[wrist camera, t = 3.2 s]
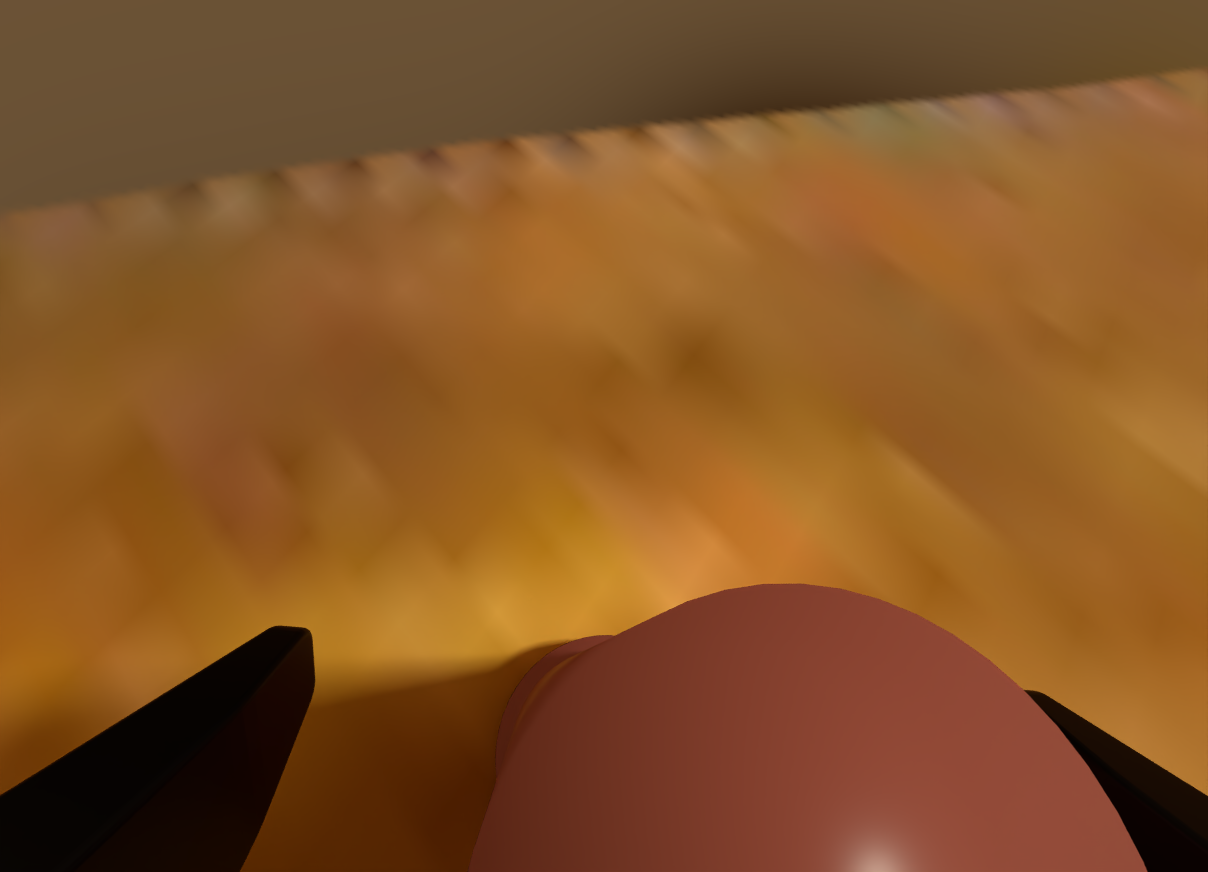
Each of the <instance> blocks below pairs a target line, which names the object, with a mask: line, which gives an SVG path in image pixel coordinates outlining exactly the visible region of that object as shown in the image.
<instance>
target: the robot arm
mask: <svg viewBox="0 0 1208 872" xmlns="http://www.w3.org/2000/svg"><path fill="white" fill-rule="evenodd" d="M314 687H315V668H314V653H313V639H312V634H311V632H310V631H309V630H308V629H306V628H302V627H290V626H274V627H271V628H269V629H267V630H265V631H264V632H262V633H261V634H259V635H257V636H256V637H254V638H253V639H251V640H249V641H248V642H246V643H245V644H243V645H241V646H240V647H238V648H237V649H235V650H233V651H232V652H230V653H229V654H227V655H225V656H224V657H222V658H220V659H219V660H217V661H216V662H214V663H212V664H211V665H209V666H208V667H206V668H204V669H203V670H201V671H200V672H198V673H196V674H195V675H193V676H192V677H190V678H188V679H187V680H185V681H183V682H182V683H180V684H179V685H177V686H175V687H174V688H172V689H171V690H169V691H167V692H166V693H164V694H163V695H161V696H159V697H158V698H156V699H155V700H153V701H151V702H150V703H148V704H146V705H145V706H143V707H142V708H140V709H138V710H137V711H135V712H134V713H132V714H130V715H129V716H127V717H126V718H124V719H122V720H121V721H119V722H118V723H116V724H114V725H113V726H111V727H109V728H108V729H106V730H105V731H103V732H101V733H100V734H98V735H97V736H95V737H93V738H92V739H90V740H89V741H87V742H85V743H84V744H82V745H81V746H79V747H77V748H76V749H74V750H73V751H71V752H69V753H68V754H66V755H64V756H63V757H61V758H60V759H58V760H56V761H55V762H53V763H52V764H50V765H48V766H47V767H45V768H44V769H42V770H40V771H39V772H37V773H36V774H34V775H32V776H31V777H29V778H27V779H26V780H24V781H23V782H21V783H19V784H18V785H16V786H15V787H13V788H11V789H10V790H8V791H7V792H5V793H3V794H2V795H0V872H240V870H241V868H242V866H243V864H244V862H245V860H246V858H247V856H248V854H249V852H250V850H251V847H252V845H253V843H254V841H255V839H256V837H257V835H258V833H259V831H260V828H261V826H262V823H263V821H264V818H265V816H266V814H267V811H268V809H269V806H270V804H271V801H272V799H273V796H274V794H275V791H276V788H277V786H278V783H279V781H280V778H281V776H282V773H283V771H284V768H285V765H286V763H287V760H288V758H289V755H290V753H291V750H292V748H293V745H294V743H295V740H296V737H297V735H298V732H299V730H300V727H301V725H302V722H303V720H304V717H305V714H306V712H307V709H308V707H309V704H310V702H311V699H312V696H313V692H314ZM1024 691H1025V692H1026V693H1027V694H1028V695H1029V696H1030V697H1031V698H1032V700H1033V701H1034V702H1035V703H1036V704H1037V705H1038V706H1039V707H1040V708H1041V709H1042V710H1043V711H1044V712H1045V713H1046V715H1047V716H1048V717H1049V718H1050V719H1051V720H1052V721H1053V722H1054V723H1055V724H1056V725H1057V726H1058V728H1059V729H1060V730H1061V732H1062V733H1063V734H1064V735H1065V737H1066V738H1067V739H1068V741H1069V742H1070V743H1071V744H1072V746H1073V747H1074V748H1075V750H1076V751H1077V752H1078V754H1079V755H1080V756H1081V757H1082V759H1083V760H1084V761H1085V763H1086V764H1087V765H1088V767H1089V768H1090V770H1091V771H1092V773H1093V774H1094V776H1095V778H1096V779H1097V781H1098V782H1099V784H1100V785H1101V787H1102V789H1103V790H1104V792H1105V793H1106V795H1107V796H1108V798H1109V800H1110V801H1111V803H1112V804H1113V806H1114V807H1115V809H1116V811H1117V812H1118V814H1119V816H1120V818H1121V820H1122V822H1123V824H1124V826H1125V828H1126V830H1127V831H1128V833H1129V835H1130V837H1131V839H1132V841H1133V843H1134V845H1135V847H1136V849H1137V851H1138V853H1139V855H1140V856H1141V858H1142V860H1143V862H1144V865H1145V867H1146V870H1147V872H1208V796H1207V795H1205V794H1204V793H1202V792H1200V791H1199V790H1197V789H1196V788H1194V787H1192V786H1191V785H1189V784H1188V783H1186V782H1184V781H1183V780H1181V779H1180V778H1178V777H1176V776H1175V775H1173V774H1172V773H1170V772H1168V771H1167V770H1165V769H1164V768H1162V767H1160V766H1159V765H1157V764H1156V763H1154V762H1152V761H1151V760H1149V759H1148V758H1146V757H1144V756H1143V755H1141V754H1140V753H1138V752H1136V751H1135V750H1133V749H1132V748H1130V747H1128V746H1127V745H1125V744H1124V743H1122V742H1120V741H1119V740H1117V739H1116V738H1114V737H1112V736H1111V735H1109V734H1108V733H1106V732H1104V731H1103V730H1101V729H1100V728H1098V727H1096V726H1095V725H1093V724H1092V723H1090V722H1088V721H1087V720H1085V719H1084V718H1082V717H1080V716H1079V715H1077V714H1076V713H1074V712H1072V711H1071V710H1069V709H1068V708H1066V707H1064V706H1063V705H1061V704H1060V703H1058V702H1056V701H1055V700H1053V699H1052V698H1050V697H1048V696H1047V695H1045V694H1043V693H1040V692H1037V691H1031V690H1024Z"/></svg>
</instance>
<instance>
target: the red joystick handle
mask: <svg viewBox="0 0 1208 872" xmlns="http://www.w3.org/2000/svg"><path fill="white" fill-rule="evenodd" d="M495 765H496V778H497V780H496V783H495V786H494V789H493V792H492V795H491V799H490V802H489V805H488V808H487V811H486V814H485V817H484V820H483V823H482V826H481V829H480V832H479V835H478V838H477V841H476V844H475V847H474V850H473V853H472V857H471V861H470V864H469V868H468V872H1147V870H1146V867H1145V865H1144V862H1143V860H1142V858H1141V856H1140V855H1139V853H1138V851H1137V849H1136V847H1135V845H1134V843H1133V841H1132V839H1131V837H1130V835H1129V833H1128V831H1127V830H1126V828H1125V826H1124V824H1123V822H1122V820H1121V818H1120V816H1119V814H1118V812H1117V811H1116V809H1115V807H1114V806H1113V804H1112V803H1111V801H1110V800H1109V798H1108V796H1107V795H1106V793H1105V792H1104V790H1103V789H1102V787H1101V785H1100V784H1099V782H1098V781H1097V779H1096V778H1095V776H1094V774H1093V773H1092V771H1091V770H1090V768H1089V767H1088V765H1087V764H1086V763H1085V761H1084V760H1083V759H1082V757H1081V756H1080V755H1079V754H1078V752H1077V751H1076V750H1075V748H1074V747H1073V746H1072V744H1071V743H1070V742H1069V741H1068V739H1067V738H1066V737H1065V735H1064V734H1063V733H1062V732H1061V730H1060V729H1059V728H1058V726H1057V725H1056V724H1055V723H1054V722H1053V721H1052V720H1051V719H1050V718H1049V717H1048V716H1047V715H1046V713H1045V712H1044V711H1043V710H1042V709H1041V708H1040V707H1039V706H1038V705H1037V704H1036V703H1035V702H1034V701H1033V700H1032V698H1031V697H1030V696H1029V695H1028V694H1027V693H1026V692H1025V691H1024V690H1023V689H1022V688H1021V687H1019V686H1018V685H1017V684H1016V683H1015V682H1014V681H1013V680H1012V679H1010V678H1009V677H1008V676H1007V675H1006V674H1005V673H1004V672H1002V671H1001V670H1000V669H999V668H998V667H997V666H996V665H994V664H993V663H992V662H991V661H990V660H989V659H987V658H986V657H984V656H983V655H981V654H980V653H979V652H977V651H976V650H974V649H973V648H972V647H970V646H969V645H967V644H966V643H964V642H963V641H962V640H960V639H959V638H957V637H956V636H955V635H953V634H951V633H949V632H948V631H946V630H944V629H942V628H940V627H939V626H937V625H935V624H933V623H931V622H930V621H928V620H926V619H924V618H922V617H920V616H919V615H917V614H914V613H912V612H910V611H907V610H905V609H902V608H900V607H897V606H895V605H892V604H890V603H887V602H885V601H882V600H880V599H877V598H873V597H869V596H866V595H862V594H858V593H854V592H851V591H847V590H843V589H838V588H831V587H823V586H815V585H807V584H761V585H754V586H748V587H741V588H735V589H728V590H723V591H720V592H717V593H713V594H710V595H707V596H704V597H700V598H697V599H694V600H690V601H687V602H685V603H683V604H681V605H679V606H676V607H674V608H672V609H670V610H668V611H666V612H664V613H661V614H659V615H657V616H655V617H653V618H651V619H649V620H647V621H645V622H642V623H640V624H638V625H636V626H634V627H632V628H630V629H628V630H626V631H624V632H622V633H620V634H618V635H616V636H612V635H599V636H591V637H585V638H581V639H578V640H575V641H571V642H569V643H567V644H565V645H563V646H560V647H558V648H557V649H555V650H554V651H552V652H550V653H549V654H547V655H546V656H545V657H543V658H542V659H541V660H540V661H539V662H537V663H536V664H535V665H534V666H533V667H532V668H531V669H530V671H529V672H528V673H527V674H526V675H525V676H524V678H523V679H522V680H521V682H520V683H519V684H518V686H517V687H516V689H515V691H514V693H513V694H512V696H511V698H510V700H509V702H508V704H507V707H506V709H505V712H504V714H503V717H502V721H501V724H500V728H499V732H498V738H497V744H496V760H495Z"/></svg>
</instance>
